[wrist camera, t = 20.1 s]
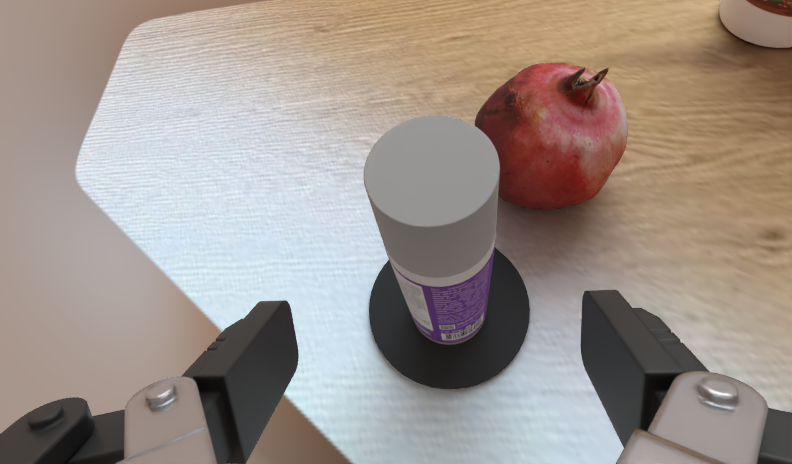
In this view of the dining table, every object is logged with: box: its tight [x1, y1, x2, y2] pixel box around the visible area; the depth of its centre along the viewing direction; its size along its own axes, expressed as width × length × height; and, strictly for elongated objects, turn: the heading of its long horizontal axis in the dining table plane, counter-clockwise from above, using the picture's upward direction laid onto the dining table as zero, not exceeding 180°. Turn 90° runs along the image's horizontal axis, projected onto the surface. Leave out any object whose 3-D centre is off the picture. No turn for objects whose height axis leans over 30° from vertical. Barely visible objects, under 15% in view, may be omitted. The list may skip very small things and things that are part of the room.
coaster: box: [369, 248, 530, 389], centre depth 28 cm, size 10×10×1 cm
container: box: [364, 116, 500, 345], centre depth 21 cm, size 5×5×15 cm
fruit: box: [475, 63, 628, 210], centre depth 27 cm, size 9×10×10 cm
